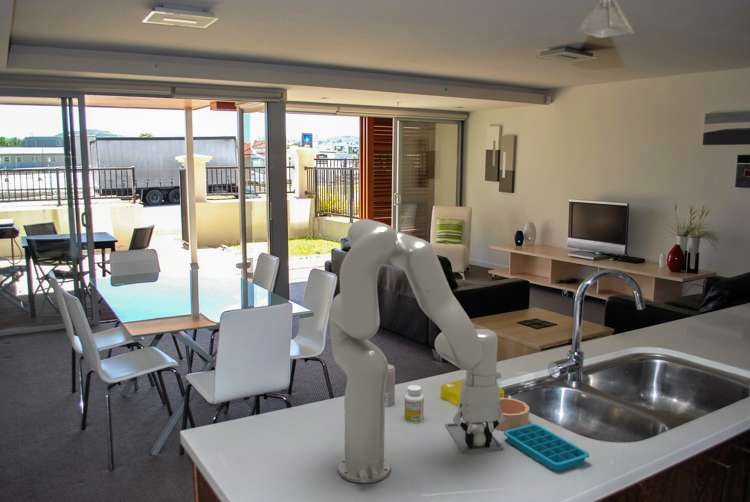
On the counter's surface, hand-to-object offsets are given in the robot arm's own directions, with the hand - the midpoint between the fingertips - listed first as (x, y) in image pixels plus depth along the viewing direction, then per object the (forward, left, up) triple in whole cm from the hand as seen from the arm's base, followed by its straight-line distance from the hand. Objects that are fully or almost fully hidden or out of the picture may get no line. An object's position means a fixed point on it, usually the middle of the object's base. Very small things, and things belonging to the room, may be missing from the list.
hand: (478, 444), depth 160 cm
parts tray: (+5, 0, -1) cm, 5 cm away
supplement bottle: (+19, +13, -1) cm, 23 cm away
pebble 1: (+5, 0, 0) cm, 5 cm away
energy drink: (+31, +19, -1) cm, 36 cm away
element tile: (+30, -8, -1) cm, 32 cm away
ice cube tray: (-5, -16, -1) cm, 17 cm away
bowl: (+13, -13, -1) cm, 18 cm away
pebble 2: (0, 0, 0) cm, 0 cm away
